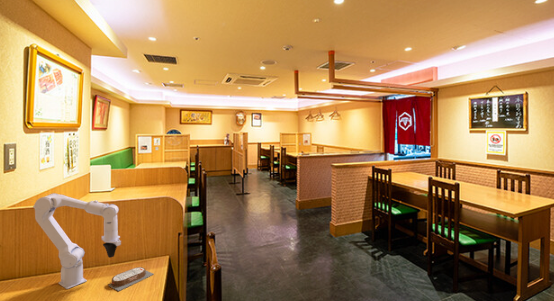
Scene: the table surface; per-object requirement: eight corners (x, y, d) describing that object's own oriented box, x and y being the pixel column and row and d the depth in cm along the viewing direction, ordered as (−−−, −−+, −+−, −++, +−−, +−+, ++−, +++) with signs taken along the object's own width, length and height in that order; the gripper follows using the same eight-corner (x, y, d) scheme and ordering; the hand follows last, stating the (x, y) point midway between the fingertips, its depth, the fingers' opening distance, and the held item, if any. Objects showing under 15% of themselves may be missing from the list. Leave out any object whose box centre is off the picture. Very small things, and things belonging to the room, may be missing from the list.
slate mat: (108, 285, 117) (108, 284, 117) (143, 269, 132) (143, 269, 132) (118, 291, 113) (118, 290, 113) (153, 274, 127) (153, 273, 127)
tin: (108, 282, 119) (115, 290, 114) (108, 276, 119) (116, 283, 114) (140, 270, 131) (148, 276, 126) (141, 264, 131) (149, 270, 126)
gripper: (127, 230, 124) (127, 257, 124) (111, 224, 131) (112, 250, 131) (111, 234, 117) (112, 262, 118) (96, 228, 125) (97, 255, 125)
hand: (111, 256), depth 124 cm, fingers closed
